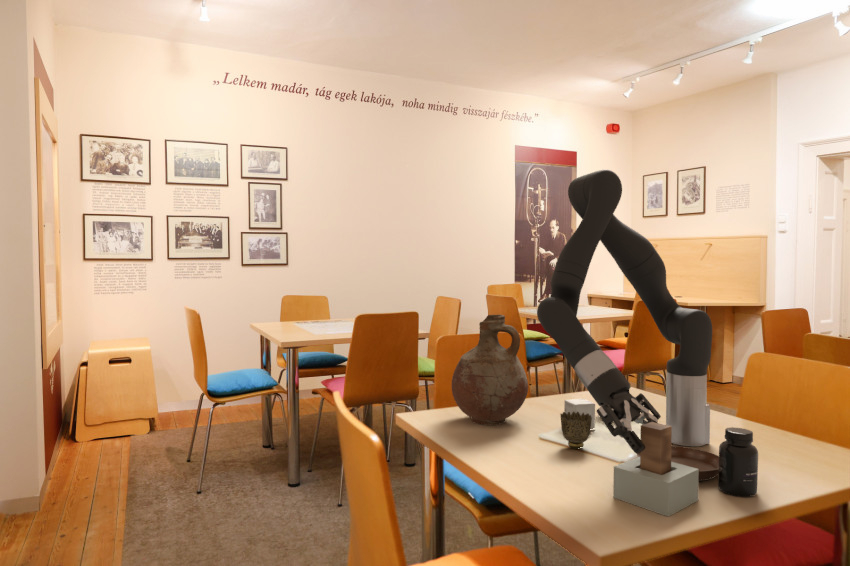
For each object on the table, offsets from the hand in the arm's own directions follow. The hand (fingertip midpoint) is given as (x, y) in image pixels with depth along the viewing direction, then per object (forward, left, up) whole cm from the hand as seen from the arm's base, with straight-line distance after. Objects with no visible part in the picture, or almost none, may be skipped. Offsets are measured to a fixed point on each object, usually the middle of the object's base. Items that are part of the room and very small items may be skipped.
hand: (653, 446), depth 113 cm
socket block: (0, +1, -10) cm, 10 cm away
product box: (-6, -47, -10) cm, 49 cm away
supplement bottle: (-18, 0, -10) cm, 21 cm away
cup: (+2, -31, -10) cm, 33 cm away
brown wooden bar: (0, +1, -8) cm, 8 cm away
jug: (+16, -58, -10) cm, 61 cm away
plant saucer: (-14, -13, -10) cm, 22 cm away
